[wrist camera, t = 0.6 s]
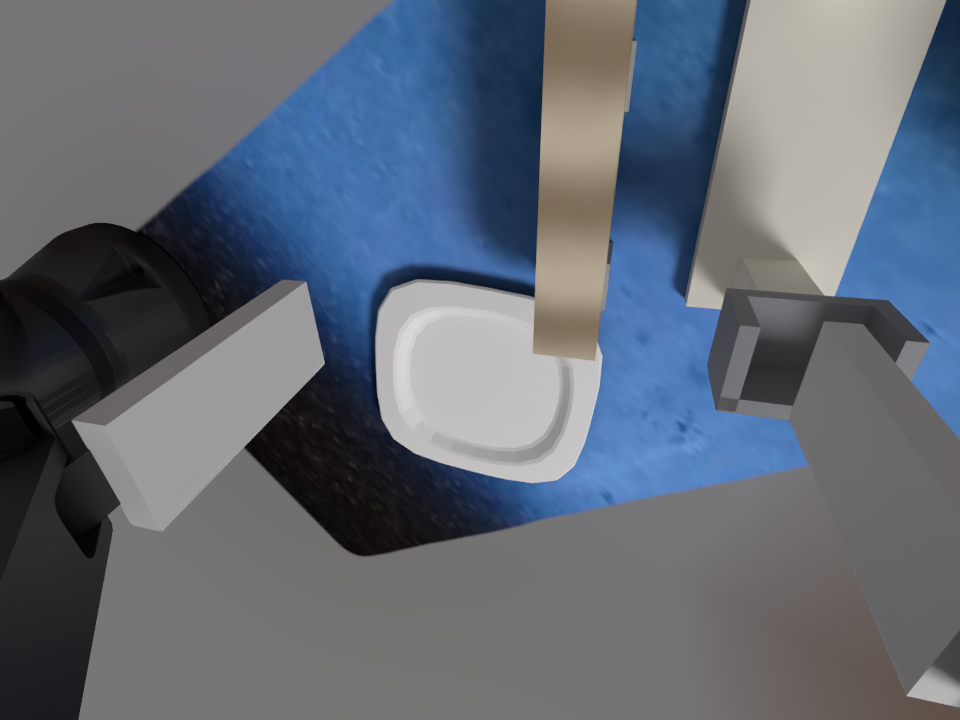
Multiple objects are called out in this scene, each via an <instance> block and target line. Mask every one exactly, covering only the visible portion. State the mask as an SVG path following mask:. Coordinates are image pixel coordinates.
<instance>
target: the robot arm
mask: <svg viewBox="0 0 960 720" xmlns="http://www.w3.org/2000/svg"><path fill="white" fill-rule="evenodd" d="M324 364H325V362H324V358H323V354H322V349H321V345H320V340H319V336H318V332H317V327H316V323H315V318H314V314H313V310H312V305H311V301H310V296H309V292H308V288H307V283H306V282H304V281H291V280H282V281H280V282H279V283H277V284H276V285H274V286H273V287H271V288H270V289H268V290H267V291H265V292H264V293H262V294H261V295H259V296H258V297H256V298H255V299H253V300H252V301H250V302H249V303H247V304H246V305H244V306H243V307H241V308H239V309H238V310H236V311H235V312H233V313H232V314H230V315H229V316H227V317H226V318H224V319H223V320H221V321H220V322H218V323H217V324H215V325H214V326H212V327H211V328H210V324H209V319H208V316H207V312H206V310H205V307H204V304H203V302H202V300H201V298H200V296H199V294H198V292H197V290H196V289H195V287H194V286H193V284H192V282H191V281H190V280H189V278H188V277H187V275H186V274H185V273H184V272H183V270H182V269H181V268H180V267H179V266H178V265H177V264H176V262H175V261H174V260H173V259H172V258H171V257H170V256H169V255H167V254H166V253H165V252H164V251H163V250H162V249H161V248H159V247H158V246H157V245H155V244H154V243H153V242H151V241H150V240H148V239H147V238H145V237H143V236H142V235H140V234H138V233H136V232H134V231H132V230H130V229H127V228H125V227H122V226H118V225H114V224H109V223H93V224H89V225H85V226H83V227H79V228H76V229H73V230H71V231H67V232H65V233H63V234H61V235H59V236H57V237H56V238H54V239H53V240H52V241H51V242H49V243H48V244H47V245H46V246H45V247H43V248H42V249H41V250H40V251H39V252H38V253H36V254H35V255H34V256H33V257H32V258H30V259H29V260H28V261H27V262H26V263H24V264H23V265H22V266H21V267H19V268H18V269H17V270H16V271H15V272H14V273H13V274H11V275H10V276H9V277H7V278H5V279H3V280H0V720H78V719H79V713H80V707H81V702H82V697H83V691H84V686H85V679H86V675H87V669H88V664H89V658H90V653H91V647H92V641H93V636H94V631H95V625H96V620H97V614H98V609H99V603H100V598H101V592H102V586H103V581H104V575H105V570H106V565H107V559H108V554H109V549H110V543H111V538H112V532H113V529H112V523H111V521H110V520H109V518H108V516H107V515H108V514H110V513H111V512H112V511H113V510H114V509H115V508H116V507H117V506H119V505H120V506H121V507H122V509H123V511H124V512H125V514H126V516H127V518H128V520H129V521H130V523H131V525H135V526H139V527H144V528H148V529H153V530H157V531H161V532H162V531H163V530H164V529H165V528H166V527H167V526H168V525H169V524H170V522H172V521H173V520H174V519H175V517H176V516H177V515H178V514H179V513H180V512H181V511H182V510H183V509H184V508H185V507H186V506H187V505H188V504H189V503H190V502H191V501H192V500H193V499H194V498H195V497H196V496H197V495H198V494H199V493H200V492H201V491H202V490H203V489H204V488H205V487H206V486H207V485H208V484H209V482H210V481H211V480H212V479H213V478H214V477H215V476H216V475H217V474H218V473H219V472H220V471H221V470H222V469H223V468H224V467H225V466H226V465H227V464H228V463H229V462H230V461H231V460H232V459H233V458H234V457H235V456H236V454H238V452H240V451H241V450H242V449H243V448H244V447H245V445H246V444H247V443H248V442H249V441H250V440H251V439H252V438H253V437H254V436H255V435H256V434H257V433H258V432H259V431H260V430H261V429H262V428H263V427H264V426H265V425H266V424H267V423H268V422H269V421H270V420H271V419H272V418H273V417H274V416H275V415H276V414H277V413H278V412H279V410H280V409H281V408H282V407H283V406H284V405H285V404H286V403H287V402H288V401H289V400H290V399H291V398H292V397H293V396H294V395H295V394H296V393H297V392H298V391H299V390H300V389H301V388H302V387H303V386H304V385H305V384H306V383H307V382H308V381H309V380H310V379H311V378H312V377H313V375H314V374H315V373H316V372H317V371H318V370H319V369H320V368H321V367H322V366H323V365H324ZM789 420H790V422H791V425H792V427H793V429H794V432H795V434H796V436H797V439H798V441H799V444H800V446H801V448H802V451H803V453H804V455H805V458H806V460H807V462H808V465H809V467H810V470H811V472H812V474H813V477H814V478H815V481H816V484H817V486H818V488H819V491H820V493H821V496H822V498H823V500H824V502H825V505H826V507H827V510H828V512H829V514H830V517H831V519H832V521H833V524H834V526H835V529H836V531H837V533H838V535H839V538H840V540H841V543H842V545H843V547H844V550H845V552H846V554H847V557H848V559H849V562H850V564H851V566H852V568H853V571H854V573H855V575H856V578H857V580H858V583H859V585H860V587H861V590H862V592H863V595H864V597H865V599H866V602H867V604H868V607H869V609H870V611H871V614H872V616H873V618H874V620H875V623H876V625H877V628H878V630H879V633H880V635H881V637H882V640H883V642H884V644H885V647H886V649H887V651H888V654H889V656H890V659H891V661H892V663H893V665H894V668H895V670H896V672H897V675H898V677H899V680H900V682H901V684H902V687H903V689H904V692H905V694H906V696H910V697H914V698H919V699H924V700H928V701H933V702H937V703H942V704H946V705H951V706H956V707H960V440H959V438H958V437H957V436H956V435H955V434H954V433H953V431H952V430H951V429H950V428H949V427H948V425H947V424H946V423H945V422H944V421H943V419H942V418H941V417H940V416H939V415H938V413H937V412H936V411H935V410H934V409H933V407H932V406H931V405H930V404H929V403H928V401H927V400H926V399H925V398H924V397H923V395H922V394H921V393H920V392H919V391H918V389H917V388H916V387H915V386H914V385H913V383H912V382H911V381H910V380H909V379H908V377H907V376H906V375H905V374H904V373H903V371H902V370H901V369H900V368H899V367H898V365H897V364H896V363H895V362H894V361H893V360H892V358H891V357H890V356H889V355H888V354H887V352H886V351H885V350H884V349H883V348H882V346H881V345H880V344H879V343H878V342H877V340H876V339H875V338H874V337H873V336H872V334H871V333H870V332H869V331H868V330H867V328H866V327H865V326H864V325H863V324H855V323H842V322H829V321H824V323H823V325H822V328H821V331H820V334H819V336H818V339H817V342H816V345H815V347H814V350H813V353H812V356H811V358H810V361H809V364H808V367H807V369H806V372H805V375H804V378H803V380H802V383H801V386H800V389H799V391H798V394H797V397H796V400H795V402H794V405H793V408H792V411H791V413H790V416H789Z"/></svg>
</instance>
